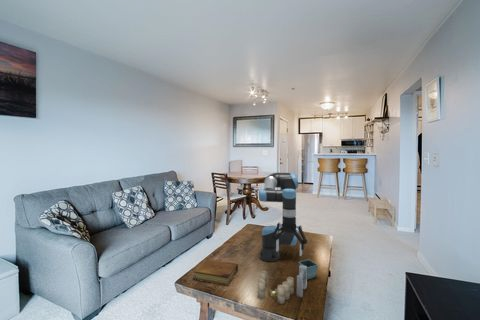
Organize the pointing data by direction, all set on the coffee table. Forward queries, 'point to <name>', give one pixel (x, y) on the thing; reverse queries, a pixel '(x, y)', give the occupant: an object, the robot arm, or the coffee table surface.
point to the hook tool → (301, 280)
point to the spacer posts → (282, 290)
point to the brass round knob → (273, 292)
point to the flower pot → (310, 268)
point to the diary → (216, 272)
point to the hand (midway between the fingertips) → (288, 252)
